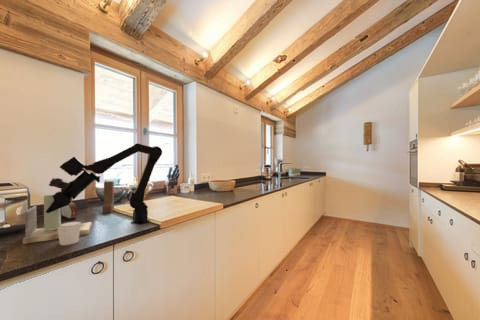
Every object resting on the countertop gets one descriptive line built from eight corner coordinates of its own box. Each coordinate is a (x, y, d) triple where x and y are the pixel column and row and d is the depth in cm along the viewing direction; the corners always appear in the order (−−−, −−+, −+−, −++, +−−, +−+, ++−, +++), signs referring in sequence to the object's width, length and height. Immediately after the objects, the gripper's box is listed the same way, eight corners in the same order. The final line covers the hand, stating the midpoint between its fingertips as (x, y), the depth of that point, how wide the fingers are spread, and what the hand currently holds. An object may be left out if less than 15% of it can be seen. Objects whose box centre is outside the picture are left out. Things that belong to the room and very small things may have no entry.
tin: (78, 218, 110) (77, 203, 110) (70, 220, 107) (70, 204, 107) (66, 214, 118) (66, 200, 118) (59, 216, 115) (59, 200, 115)
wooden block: (111, 213, 121) (111, 182, 121) (102, 214, 119) (102, 182, 119) (113, 209, 129) (113, 180, 129) (105, 210, 128) (105, 181, 127)
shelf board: (91, 226, 98) (91, 200, 98) (88, 234, 88) (88, 205, 88) (33, 233, 88) (33, 205, 88) (22, 244, 78) (22, 212, 78)
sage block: (60, 225, 90) (60, 193, 90) (58, 228, 87) (58, 194, 87) (47, 227, 88) (46, 194, 88) (44, 230, 85) (43, 195, 84)
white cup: (54, 247, 75) (54, 228, 75) (61, 240, 81) (61, 222, 81) (77, 244, 78) (77, 225, 78) (83, 237, 84) (82, 220, 84)
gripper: (68, 169, 97) (36, 195, 92) (58, 172, 81) (19, 203, 76) (89, 185, 101) (60, 210, 96) (84, 190, 85) (49, 221, 80)
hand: (48, 211), depth 87 cm, fingers closed on sage block, 4 cm apart
